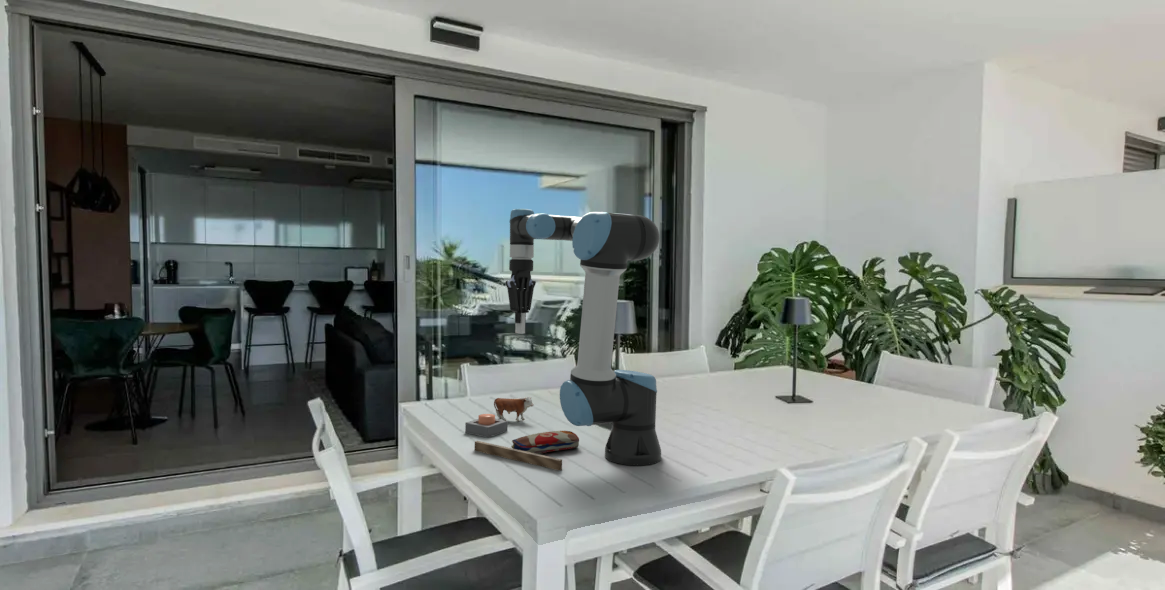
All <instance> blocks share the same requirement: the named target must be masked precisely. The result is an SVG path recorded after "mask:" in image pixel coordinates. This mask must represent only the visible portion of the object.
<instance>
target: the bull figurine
mask: <svg viewBox="0 0 1165 590" xmlns="http://www.w3.org/2000/svg"><path fill="white" fill-rule="evenodd" d="M534 406H535V405H534V403H533V400H532V397H530V396H526V397H525V396H521V397H517V398H502V397H498V398H494V401H493V407H494V409H495V413H496V416H497V418H498V419H499V420H504V421H507V419H506V417H505V416H504V411H506V412H507V414H508V415H510V414H511V413H516V417H515V418H516V419H515V421H516V422H520V420H522V421H525V417H524V413H525V412H526V411H527V410H528V408H531V407H534Z"/></svg>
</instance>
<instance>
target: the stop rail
mask: <svg viewBox="0 0 1165 590" xmlns="http://www.w3.org/2000/svg"><path fill="white" fill-rule="evenodd" d="M474 451H475V452H477V453H484V454H487V455H491V456H496V457H499V458H504V459H508V460H512V461H517V462H521V463H525V464H530V465H534V466H537V467H543V468H547V469H550V470H551V469H552V470H555V471H562V469H563V459H562V458H557V457H553V456H548V455H544V454H535V453H531V452H526V451H522V450H517V449H513V448H512V447H509V446H503V445H499V444H494V443H489V442H485V441H480V440H475V441H474Z"/></svg>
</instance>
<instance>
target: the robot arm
mask: <svg viewBox="0 0 1165 590" xmlns="http://www.w3.org/2000/svg"><path fill="white" fill-rule="evenodd" d="M535 240H544V241H545V240H549V241H553V240H554V241H570V242H572V243H571V245H572V249H573V253H574V256H575V257H576V258H578V260H580V261H579V262H580V263H579V265H580V267H581V268H582V270H583V271H584V273H585V274H584V285H583V295H582V296H583V297H582V306H581V307H582V309H581V320H580V331H579V343H578V354H577V363H576V366H574V367H573V368H572V369H571V370H570V376H569V379H567V380H566V381H563V382H562V384H561V386H560V388H559V402H560V406H561V410H562V412H563V415H564V416H565V418H566V419H567V421H568V422H570V424H571V425H573V426H576V427H591V426H594V425H595V426H596V425H601V424H602V425H604V424H608V423H609V424H610V423H611V430H610V433H609V436H608V438H607V440H606V444H605V448H604V457H605V459H607V460H608V461H610V462H612V463H615V464H619V465H624V466H625V465H626V466H649V465H653V464H656V463H658V462H660V461H661V460H662V449H661V444H660V441H659V437H658V435H657V431H656V420H657V419H656V418H657V416H656V415H657V414H656V413H657V393H658V390H657V380H656V378H655V376H654V375H652V374H649V373H646V372H641V371H635V370H630V369H629V370H628V369H627V370H626V369H615V370H613V369H612V359H613V350H614V349H613V347H614V339H615V327H616V318H617V309H618V297H619V288H620V287H619V285H620V279H621V278H620V276H621V275H622V274H623V273H624V272H625V271H627V268H628V267H627V266H628V261H630V262H631V261H633V262H634V261H641V260H645V259H647V258H649V257H650V256H651V255H653V254H654V253H655V251H656V250H657V248H658V246H659V243H660V232H659V228H658V227H657V225H656V223H654V221H653V220H651V219H650V218H648V217H647V216H644V215H640V214H628V213H616V212H606V211H591V212H588V213H586V214H584V215H582V216H572V215H570V216H569V215H555V214H548V213H543V212H537V213H535V212H534V210H533V209H528V208H513V209H512V210H510V217H509V258H511V259H509V263H508V265H509V266H508V267H509V268H508V269H509V271H510V272H511V275H510V279H509V280H505V286H506V288H507V295H508V303H509V310H510V311H511V313H514V323H515V324H514V325H515V330H514V332H515V334H520V335H523V334H526V322H527V320H526V317H527V314H529V313H530V311H531V308H532V303H533V295H534V290H535V287H536V284H537V281H536V280H533V279H532V273H531V272H533V271H534V260H533V258H534V255H535V254H534V250H535V249H534V248H535V247H534V246H535V245H534V244H535V243H534V242H535Z"/></svg>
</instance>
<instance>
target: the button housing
mask: <svg viewBox="0 0 1165 590" xmlns="http://www.w3.org/2000/svg"><path fill="white" fill-rule="evenodd" d="M508 423H509V422H508V420H506V421H504V420H502V419H499V418H498V419H497V418H495V423H494V424H491V425H483V424H478V418H477V419H473V420H469V421H467V422H465V426H464V427H465V428H464V429H465V430H464V432H465V434H470V435H475V436H476V435H477V436H479V437H483V438H490V437H494V436H496V435H500V434H502V433H505V432H508V425H509V424H508Z"/></svg>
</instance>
